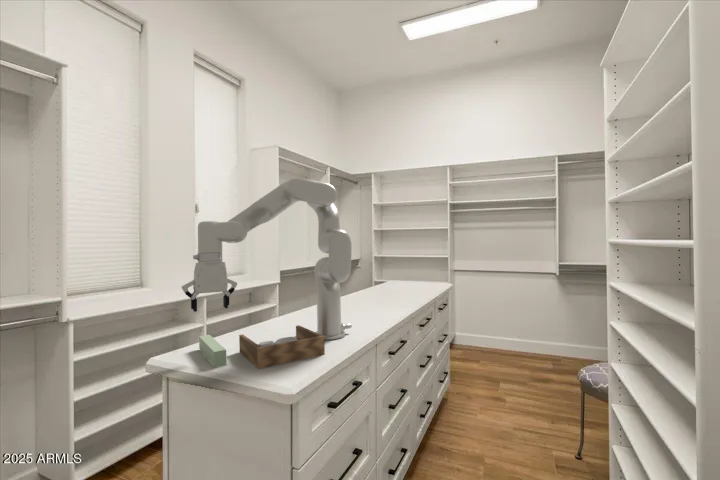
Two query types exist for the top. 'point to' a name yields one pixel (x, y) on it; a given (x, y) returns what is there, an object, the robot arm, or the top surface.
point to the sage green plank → (212, 350)
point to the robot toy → (278, 341)
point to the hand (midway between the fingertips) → (210, 309)
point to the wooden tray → (283, 349)
